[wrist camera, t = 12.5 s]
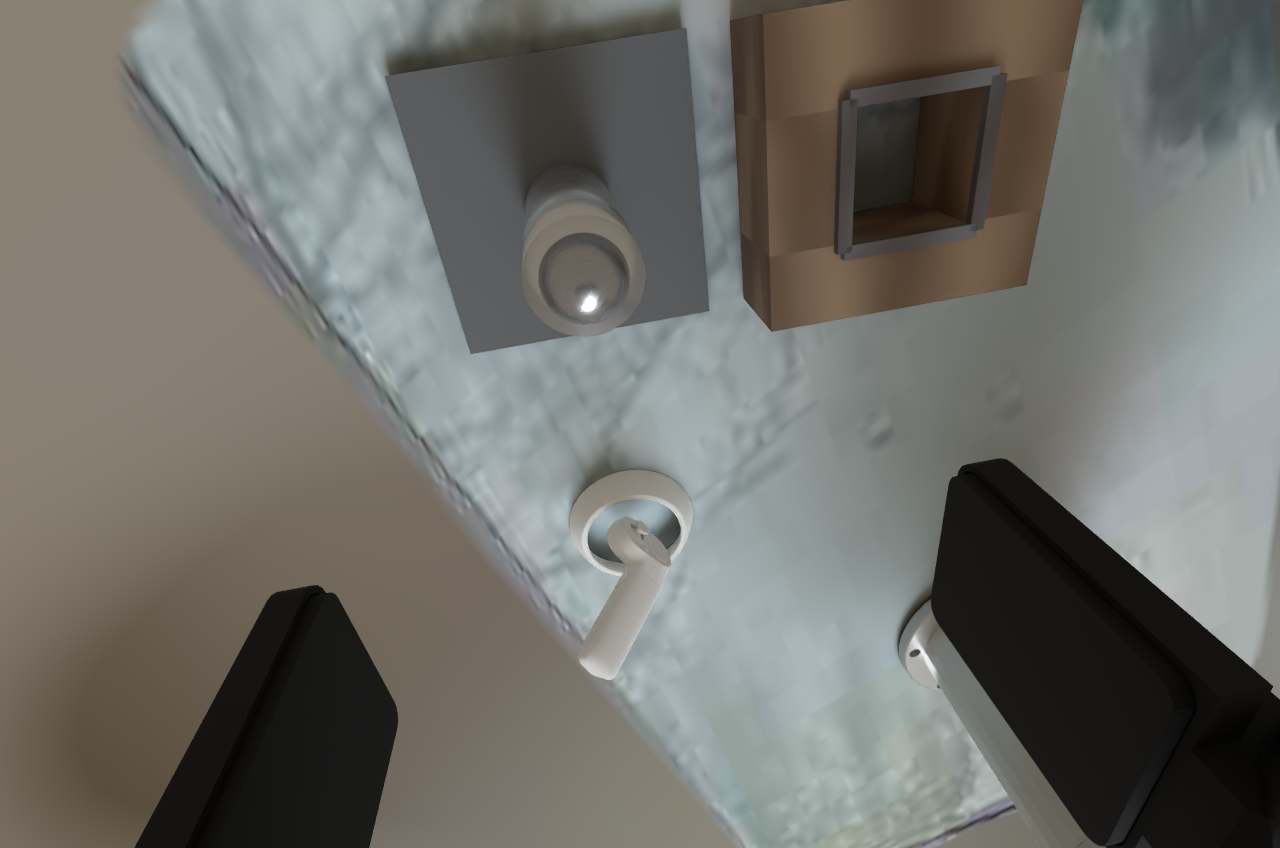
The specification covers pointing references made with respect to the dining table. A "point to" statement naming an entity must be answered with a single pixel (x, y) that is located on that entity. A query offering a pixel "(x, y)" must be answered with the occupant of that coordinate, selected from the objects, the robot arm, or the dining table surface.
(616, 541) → the white ring with handle
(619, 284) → the steel peg
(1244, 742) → the robot arm
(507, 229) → the mat
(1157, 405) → the dining table surface
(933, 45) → the block
